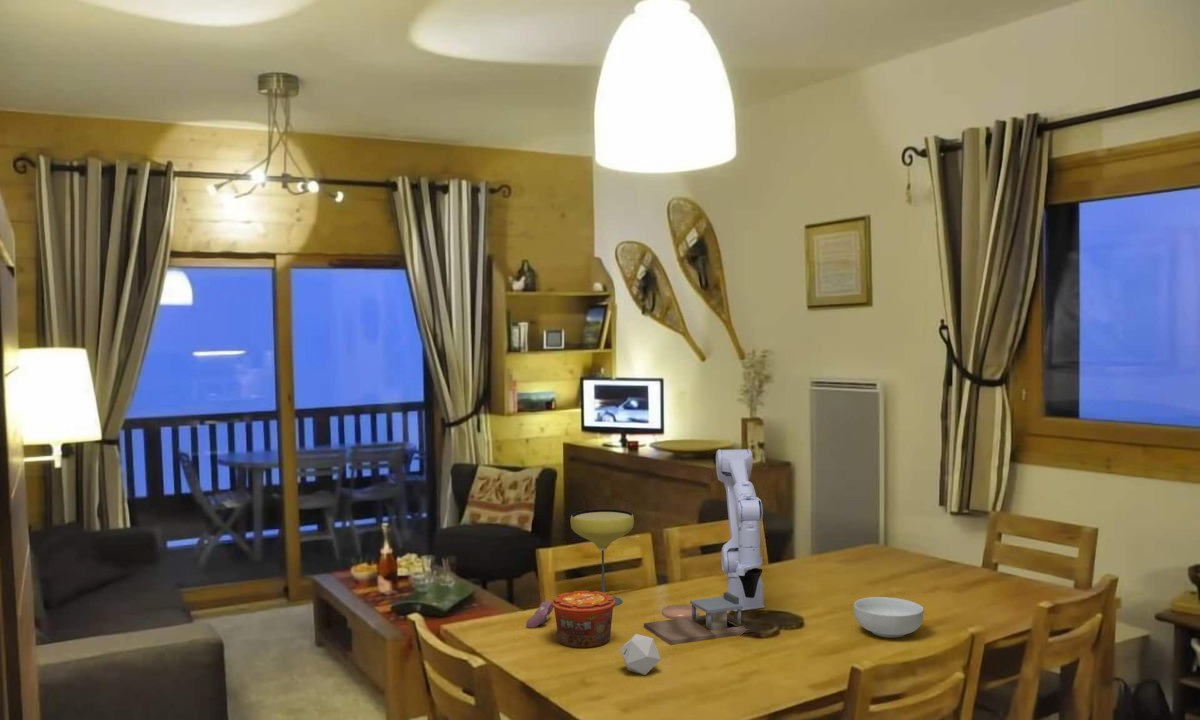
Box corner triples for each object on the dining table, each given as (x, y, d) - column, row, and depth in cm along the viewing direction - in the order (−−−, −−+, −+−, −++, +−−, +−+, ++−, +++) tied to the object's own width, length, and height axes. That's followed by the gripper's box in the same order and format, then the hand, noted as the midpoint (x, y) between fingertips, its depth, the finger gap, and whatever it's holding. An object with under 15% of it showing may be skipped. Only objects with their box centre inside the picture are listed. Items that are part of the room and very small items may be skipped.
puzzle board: (725, 616, 263) (725, 612, 263) (755, 632, 248) (755, 628, 248) (643, 627, 254) (643, 623, 254) (670, 644, 239) (670, 640, 239)
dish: (689, 606, 272) (688, 603, 272) (705, 616, 263) (705, 612, 263) (656, 611, 269) (656, 607, 269) (671, 620, 259) (671, 617, 259)
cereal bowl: (887, 648, 235) (886, 618, 234) (840, 629, 249) (839, 602, 249) (938, 636, 242) (938, 608, 242) (890, 619, 257) (889, 593, 257)
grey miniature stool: (724, 614, 259) (723, 590, 259) (743, 624, 250) (742, 599, 250) (690, 618, 256) (690, 594, 256) (708, 629, 247) (707, 604, 246)
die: (627, 665, 227) (609, 639, 222) (659, 646, 227) (642, 619, 223) (638, 689, 220) (620, 662, 215) (671, 669, 220) (654, 642, 216)
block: (719, 624, 256) (719, 605, 255) (727, 628, 252) (726, 609, 252) (706, 626, 254) (705, 607, 254) (713, 630, 250) (713, 611, 250)
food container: (594, 654, 233) (593, 610, 233) (539, 644, 242) (538, 601, 241) (628, 636, 247) (627, 594, 246) (575, 627, 255) (574, 586, 255)
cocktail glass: (561, 607, 274) (560, 518, 273) (586, 591, 291) (585, 507, 290) (621, 613, 267) (620, 522, 266) (644, 596, 284) (642, 510, 283)
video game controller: (539, 635, 254) (550, 611, 253) (524, 626, 255) (535, 603, 254) (548, 624, 264) (559, 601, 263) (533, 615, 265) (544, 593, 264)
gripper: (744, 538, 264) (745, 588, 265) (724, 549, 252) (725, 602, 252) (769, 541, 261) (770, 591, 261) (751, 552, 248) (751, 605, 249)
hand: (750, 597), depth 256 cm, fingers closed
